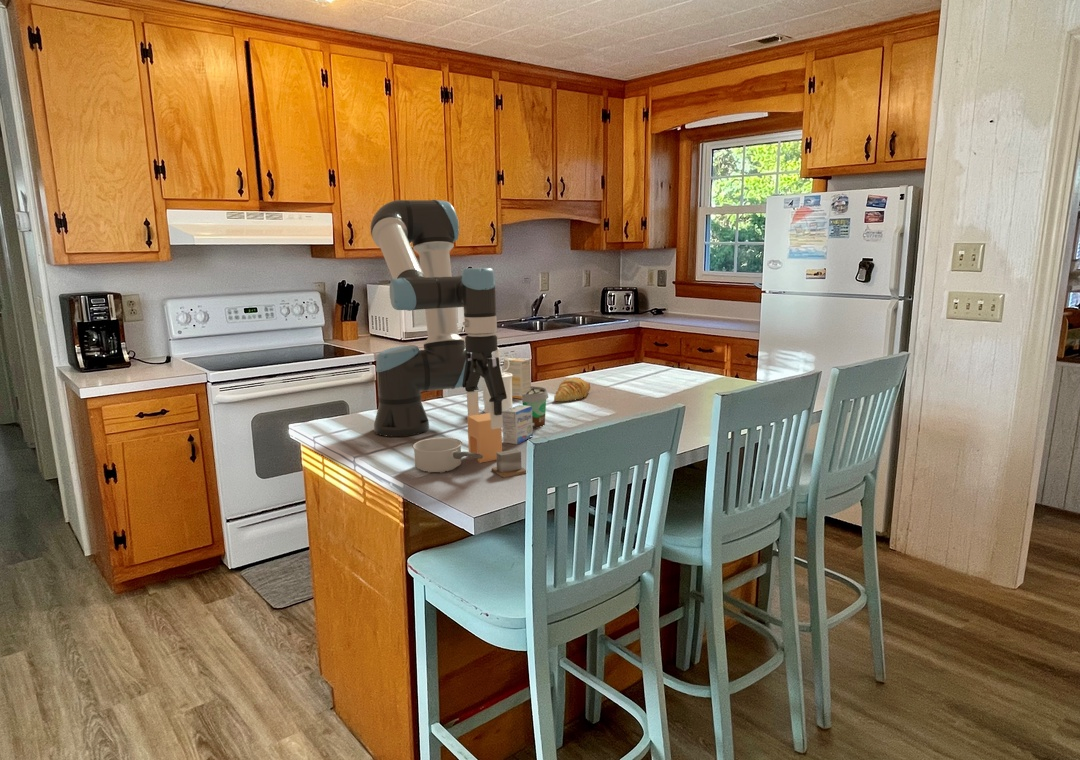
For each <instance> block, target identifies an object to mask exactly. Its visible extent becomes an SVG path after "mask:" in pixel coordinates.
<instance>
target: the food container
mask: <svg viewBox="0 0 1080 760" xmlns="http://www.w3.org/2000/svg"><path fill="white" fill-rule="evenodd" d="M547 399H549V392H548V390H547V389H546V388H545V387H541V386H532V385H531V390H530V391H529V392H527V393H526V394H522V399H521V402H522V405H526V406H531V407H532V424H533V429H536V428H535V427H539V428H541V427H540V426H542V427H543V425H544V426H545V425H546V409H547V408H546V407H547Z"/></svg>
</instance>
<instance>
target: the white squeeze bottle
mask: <svg viewBox="0 0 1080 760" xmlns="http://www.w3.org/2000/svg"><path fill="white" fill-rule="evenodd" d="M500 353H501V350H500V348H499V347H498V346H497V350H496V351H493V352H492V358H494V357H498V358H499V365H500V371H501V375H502V379H503V383H504V387H505V391H506V395H507V398H506V399H503V400H502V411H505V410H507V409H510V408H513V407H514V406H513V398H512V374H511V373H507V372H504V371H505V370H507V369H508V368H509V365H510V363H509V360H508V358H509V357H506V356H501V357H500ZM503 358H504V359H507V361H508V367H507V369H505V370H504V369H503V367H502V366H501V361H502V359H503ZM481 378H482V380H481V381H482V398H483V399H482V400H483V406H484V407H483V412H484V414H486V413H490V402H489V400H490V398H491V397H490V394H489V391H488V388H487V385H486V382H485V380H484V378H483V377H481Z"/></svg>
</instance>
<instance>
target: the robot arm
mask: <svg viewBox="0 0 1080 760" xmlns="http://www.w3.org/2000/svg"><path fill="white" fill-rule="evenodd" d="M459 224H460V223H459V220H458V215H457V212H456V210H455V208H454V206H453V205H452V203H450V202H449V201H447V200H438V199H427V200H425V199H424V200H423V199H421V200H419V199H417V200H416V199H412V200H411V199H410V200H409V199H405V200H404V199H397V200H391V201H389V202H387V203H386V204H384V205H382V206H381V207H379V209H378V210H377V211H376V212H375V214H374V216H372V219H371V222H370V228H369V229H370V234H371V235H370V236H371V238H372V240H373V242H374V244H375V245H376V246H377V247H378V248H379V249H380V250H381V252H382V256H383V258H384V260H385V263H386V265H387V268H388V270H389V273H390V275H391V278H392V279H391V281H390V283H389V299H390V304H391V307H392V308H393V309H394V310H396V311H418V310H424V311H425V320H426V330H427V338H426V340H425V342H423V349H420V348H419V347H418V345H416V344H409V345H399V346H395V347H394V346H393V347H390V348H387V349H383V350H382V351H379V353H378V354H377V355H376V358H375V359H376V361H375V362H376V363H375V364H376V365H375V366H376V368H375V372H376V376H377V377H376V378H377V379H376V381H377V391H378V395H377V396H378V408H377V411H376V414H375V415H376V416H375V418H374V423H373V430H374V431H375V432H376V433H377V434H376V433H375V432H374V431H373V432H374V433H375V434H376V435H378V434H381V435H387V436H386V437H389V436H400V437H408V436H407V435H410V436H415V435H414V434H416V435H419V434H418V433H420V434H422V432H423V433H425V432H427V431H428V430H429V429H430V421H429V419H428V416H427V413H426V411H425V408H424V405H423V403H422V392H426V391H427V392H431V391H441V390H450V389H451V390H455V389H458V388H459V389H460V388H463V389H464V388H465V389H464V390H465V391H466V402H467V405H466V408H467V416H472V415H479V414H480V409H479V408H480V407H479V391H478V390H479V389H480V388H479V387H478V386H479V385H478V384H479V381H480V379H481V378H482V377H483V378H484V380H485V382H486V385H487V388H488V391H489V394H490V397H491V398H490V400H489V402H490V418H491V429H498V428H501V429H503V418H502V400H503V399H506V398H507V395H506V391H505V387H504V383H503V379H502V375H501V371H500V367H501V364H500V365H499V358H498V357H494V358H493V351H496V350H497V347H498V335H497V334H496V333H497V332H498V322H497V313H496V312H497V307H496V305H497V304H496V300H497V299H496V285H497V284H496V283H497V282H496V279H495V271H494V269H493V268H492V267H472V268H471V267H468V268H464V269H462V272H461V275H456V276H452V275H453V274H452V267H451V266H452V264H451V256H450V252H451V251H452V249H453V248H454V247H455V246H454V245H455V244H454V243H455V242H456V241H458V239H459V235H460V231H459V229H460V227H459ZM411 243H412V246H411ZM415 253H417V255H419V261H418V259H417V257H416V254H415ZM456 308H463V318H464V320H463V322H462V325H463V326H464V333H465V334H466V335H465V337H464V338H463V337H461V335H459V330H458V321H457V312H456V311H457V310H456ZM381 435H380V436H381Z"/></svg>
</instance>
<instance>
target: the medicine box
mask: <svg viewBox="0 0 1080 760" xmlns="http://www.w3.org/2000/svg"><path fill="white" fill-rule="evenodd" d="M512 407H513V408H510V409H507V410H505V411H502V418H503V428H502V443H505V444H511V445H516V446H517V445H520V444H522V443H524V442H526V441H528V440H529V438H530V439H532V438H533V437H530V436H534V434H533V433H534V432H533V431H534V428H533V424H532V407H531V406H526V405H523V404H521V405H520V404H519V405H515V406H512ZM527 439H528V440H527ZM525 440H526V441H525ZM519 443H520V444H519Z"/></svg>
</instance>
